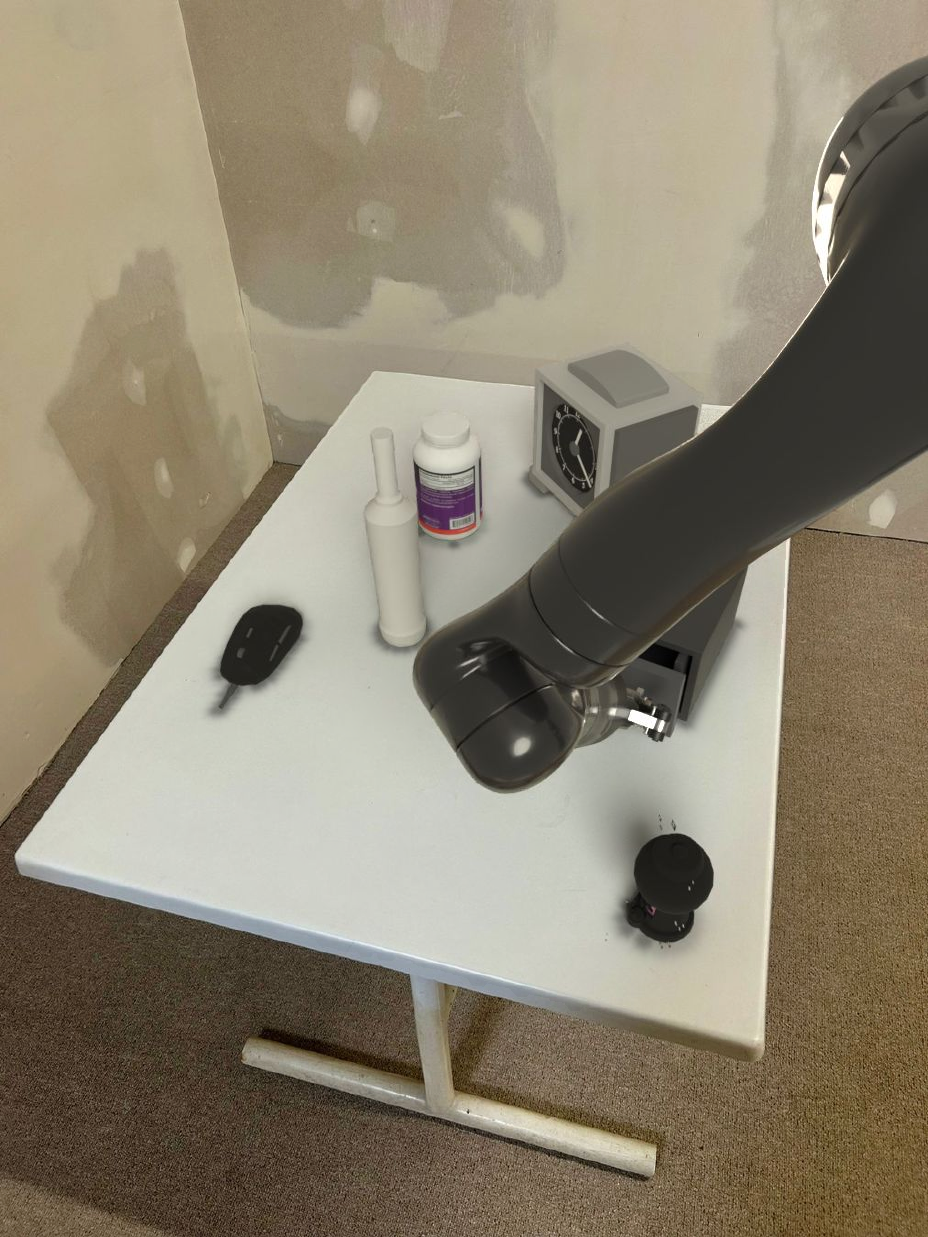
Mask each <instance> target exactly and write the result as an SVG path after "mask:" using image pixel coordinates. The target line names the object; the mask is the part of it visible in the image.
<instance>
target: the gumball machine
mask: <svg viewBox="0 0 928 1237" xmlns="http://www.w3.org/2000/svg"><path fill="white" fill-rule="evenodd" d="M658 819H659V821H660V822H662V816H661V815H660V813H659V815H658ZM670 823H671V824H670V825H671V826H672V829H673V831H674V832H673V833H665V834H660V835H658V836H655V837H653V838H651V839H649V840H648V841H647V842H646V843H645V844H644V845H642V846H641V848H640V849H639V851H638V853H637V855H636V856H635V859H634V867H633V877H634V881H635V882H634V883H635V885H636V889H637V890H638V891H637V893H636V894H635V897H634V899H633V900H632V904H631V907H630V908H629V909H628V911H627V918H626V921H627V923H628V925H629V926H630V927H632V928H634V929H639V931H640V932H641V933H642V934H643V935H645V937H647V938H649V939H651V940H653V941H655V942H658V943H659V946H660V949H663V948H664V946H663V944H662V943H664V944H667V945H668V948H669V949H671V946H672V945H671V943H676V942H678V941H681V940H684V939H685V938H686V937H687V936H688V935H689V934H690V933H691V932H692V929H693V927H694V925H695V911H696V910H697V909H699V908H700V907H701V906H703V904H704V903H705V902H706V901H708V898H709V896H710V894H711V893H712V890H713V888H714V878H715V872H714V871H715V870H714V868H713V863H712V861H711V858H710V857H709V855H708V853H707V852H706V850H705V849H704V848H703V847H702V846H701V845H700V844H699V843H697V842H696V840H695V839H693V838H692V837H690V836H688V835H686V834H684V833H679V832H676V829H677V826H676V823H675V821H674V819H673V818H672V819H671V822H670ZM659 828H660V830H661V831H663V827H662V825H661V824H660V825H659ZM625 902H626V905H627V906H628V905H629V902H628V898H626V899H625Z"/></svg>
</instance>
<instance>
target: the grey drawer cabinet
mask: <svg viewBox="0 0 928 1237" xmlns="http://www.w3.org/2000/svg"><path fill="white" fill-rule="evenodd" d="M749 566H750V565H748V566H747V567H745V568H744V569H743V570H741V571H740V572H738V573H737V574H736V575H734V576H733V577H732V578H730V579H729V580H728V581H727V582H725V583H724V584H723V585H721V586H720V587H719V588H718V589H716V590H715V591H714V592H713V593H711V594H710V595H709V596H708V597H707V598H705V599H704V600H703V601H702V602H701V603H699V604H698V605H697V606H696V607H695V608H693V609H692V610H691V611H690V612H689V613H688V614H687V615H685V616H684V617H683V618H682V619H681V620H680V621H679V622H677V623H676V624H675V625H674V626H673V627H672V628H671V629H670V630H668V631H667V632H666V633H665V634H664V635H662V636H661V637H660V638H659V639H658V640H657V641H656V642H654V643H655V644H658V645H661V646H664V647H667V648H669V649H672V650H675V651H678V652H681V653H684V654H687V655H690V656H693V657H692V662H691V666H690V671H689V676H688V680H687V685H686V689H685V691H684V693H683V695H682V697H681V701H680V705H679V710H678V714H677V719H678V720H681V721H683V722H687V721H688V720H689V717H690V716H691V714H692V711H693V709H694V707H695V706H696V703H697V701H698V699H699V697H700V695H701V693H702V690H703V688H704V687H705V685H706V682H707V680H708V678H709V676H710V674H711V672H712V670H713V667H714V665H715V663H716V661H717V659H718V657H719V655H720V653H721V651H722V649H723V647H724V645H725V643H726V641H727V638H728V636H729V634H730V632H731V630H732V629H733V628H732V627H733V626H734V623H735V620H736V616H737V612H738V608H739V604H740V601H741V596H742V594H743V593H742V592H743V590H744V585H745V581H746V577H747V573H748V569H749Z"/></svg>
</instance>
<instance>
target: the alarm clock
mask: <svg viewBox="0 0 928 1237" xmlns="http://www.w3.org/2000/svg"><path fill="white" fill-rule="evenodd" d="M533 394H534V397H533V399H534V400H533V431H532V432H533V434H532V435H533V437H532V464H531V465H530V466H529V473H528V474H529V476H528V481H529V482H530V483H531V484H532V485H533V486H534V487H535V488H536V489H537V490H539V492H540V493H542V494H547V493H549V492H551V493H552V494H553V495H554V496H555V497H556V498H557V499H558V500H559V501H560V502H561V503H562V504H563V505H564V506H565V507H566V508H567V509H568V510H569V511H570V512H572V514H573V515H575V516H576V517H577V515H578V514H579V513H580V512H581V511H582V510H583V509H584V508H585V507H586V506H587V505H588V504H589V503H590V502H592V501H593V500H594V499H595V498H596V497H597V496H598V495H599V494H601V493H602V492H603V491H604V490H606V489H607V488H608V487H609V486H611V485H612V484H614V483H615V482H616V481H618V480H619V479H621V478H622V477H624V476H625V475H627V474H629V473H630V472H632V471H634V470H635V469H637V468H639V467H641V466H643V465H644V464H646V463H648V462H650V461H652V460H654V459H655V458H657V457H659V456H661V455H663V454H665V453H667V452H669V451H671V450H672V449H674V448H676V447H678V446H679V445H681V444H683V443H684V442H686V441H687V440H689V439H691V438H692V437H694V436H695V435H697V434H698V430H699V425H700V424H699V423H700V420H701V419H700V418H701V413H702V408H703V402H704V396H705V394H704V393H702V392H701V391H700V390H698V389H697V388H695V387H694V386H692V385H691V384H690V383H688V382H687V381H685V380H684V379H682V378H680V377H679V376H678V375H676V374H675V373H673V372H672V371H671V370H669V369H668V368H666V367H665V366H663V365H661V363H659V362H657V361H656V360H655V359H653V358H651V357H650V356H648V354H645V352H643V351H641V350H640V349H638V348H637V347H635V346H634V345H633V344H631V343H630V342H628V341H626V342H621V343H618V344H614V345H612V346H608V347H605V348H601V349H597V350H594V351H590V352H587V353H583V354H580V355H576V356H573V357H569V358H566V359H562V360H558V361H555V362H551V363H549V364H545V365H542V366H538V367H535V368H534V393H533Z"/></svg>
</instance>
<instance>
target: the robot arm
mask: <svg viewBox="0 0 928 1237" xmlns="http://www.w3.org/2000/svg"><path fill="white" fill-rule="evenodd" d="M815 177H816V178H815V181H814V182H815V183H814V188H813V195H812V206H811V216H812V220H811V222H812V241H813V243H814V247H815V253H816V257H817V262H818V265H819V267H820V269H821V272H822V273H821V274H822V276H823V279H824V282H825V285H826V287H825V289H824V291H823V292H822V294H821V295H820V297H819V298H818V299H817V301H816V302H815V304H814V305H813V307H812V308H811V309H810V310H809V312H808V314H807V316H805V318H804V319H803V321H802V322H801V323H800V325H799V326H798V328H797V329H796V330H795V332H794V334H792V336H791V338H789V340H788V341H787V342H786V343H785V345H784V346H783V348H782V349H781V350H780V352H779V353H778V355H777V356H776V357H775V358H774V359H773V361H772V362H771V363H770V364H769V366H768V367H767V368H766V369H765V371H764V372H763V373H762V374H761V375H760V376H759V377H758V379H756V381H755V382H754V383H753V384H752V385H751V386H750V387H749V388H748V389H747V391H746V392H745V393H743V395H741V396H740V398H738V399H737V400H736V401H735V402H734V403H733V404H732V405H731V406H729V408H728V409H727V410H725V411H724V412H723V413H722V414H721V415H720V416H719V417H718V418H717V419H715V420H714V421H712V422H711V423H710V424H709V425H707V426H706V427H705V428H703V429H702V430H701V431H699V432H697V435H695V436H694V437H692V438H691V439H689V440H687V441H686V442H684V443H683V444H681V445H679V446H678V447H676V448H674V449H672V450H671V451H669V452H667V453H665V454H663V455H661V456H659V457H657V458H655V459H654V460H652V461H650V462H648V463H646V464H644V465H643V466H641V467H639V468H637V469H635V470H634V471H632V472H630V473H629V474H627V475H625V476H624V477H622V478H621V479H619V480H618V481H616V482H615V483H614V484H612V485H611V486H609V487H608V488H607V489H606V490H604V491H603V492H602V493H601V494H599V495H598V496H597V497H596V498H595V499H594V500H593V501H592V502H590V503H589V504H588V505H587V506H586V507H585V508H584V509H583V510H582V511H581V512H580V513H579V514H578V515H577V516H576V517H575V518H573V520H572V521H571V522H570V523H569V524H568V525H567V526H566V528H564V530H563V531H562V532H561V533H560V534H559V535H558V537H556V539H555V540H554V541H553V542H552V543H551V544H550V545H549V547H548V548H547V549H546V550H545V551H544V552H543V554H541V556H540V557H539V558H538V559H537V560H536V561H535V563H534V564H533V565H532V566H531V567H530V568H529V569H528V570H527V571H526V573H524V574H523V575H522V576H521V577H520V578H519V579H518V580H516V581H515V582H514V583H513V584H511V585H510V586H509V587H507V588H506V589H505V590H503V591H502V592H500V593H499V594H498V595H496V596H494V597H493V598H492V599H490V600H489V601H487V602H485V603H484V604H482V605H481V606H479V607H477V608H475V609H473V610H472V611H469V612H467V613H466V614H463V615H461V616H460V617H458V618H455V619H453V620H451V621H450V622H448V623H446V624H444V625H443V626H441V627H439V628H438V629H437V630H435V631H434V632H432V633H431V634H430V635H428V636H427V637H426V638H425V639H424V641H423V642H422V643H421V645H420V646H419V648H418V649H417V652H416V654H415V657H414V660H413V665H412V674H411V675H412V682H413V683H412V684H413V688H414V690H415V693H416V694H417V696H418V698H419V700H420V702H421V703H422V705H423V706H424V707H425V709H426V711H427V712H428V714H429V715H430V717H431V718H432V720H433V722H434V723H435V724H436V727H438V729H439V731H440V732H441V734H442V735H443V737H444V738H445V740H446V741H447V742H448V744H449V746H450V747H451V749H452V751H453V752H454V754H455V756H456V757H457V759H458V760H459V762H460V764H461V765H462V766H463V768H464V769H465V771H466V772H467V774H468V775H469V776H470V777H471V778H472V779H473V781H474V782H476V783H477V784H478V785H479V786H481V787H483V788H485V789H487V790H488V791H491V792H492V793H497V794H502V795H508V794H516V793H521V792H524V791H527V790H529V789H531V788H533V787H535V786H537V785H539V784H541V783H542V782H544V781H545V780H547V779H548V778H549V777H551V775H553V774H554V773H555V772H557V771H558V769H559V768H560V767H562V765H563V764H565V762H566V761H567V759H568V758H569V757H570V756H571V754H573V751H574V750H576V749H580V748H584V747H588V746H591V745H592V746H593V745H596V744H598V743H600V742H603V741H604V740H606V739H608V738H609V737H610V736H612V735H613V734H614V733H615V732H616V731H617V730H618V729H620V730H625V731H627V730H629V729H630V727H632V726H634V727H636V728H639V727H640V728H643V725H644V726H645V728H643V731H642V734H643V735H646V736H647V737H648V738H650V739H651V741H653V742H656V743H658V742H661V743H663V742H664V739H665V737H666V736H665V733H666V731H667V728H668V725H669V722H670V720H671V717H672V714H673V713H672V711H671V709H670V708H668V707H667V705H665V704H662V703H661V705H660V704H657V705H656V706H655V705H653V704H651V702H652V701H651V699H650V698H647V697H645V696H641V694H640V692H637V691H635V690H633V689H630V688H627V687H626V686H625V683H624V680H623V678H622V676H621V674H620V672H621V671H622V670H623V669H625V668H626V667H627V666H628V665H629V664H630V663H632V662H633V661H634V660H635V659H636V658H637V657H638V656H639V655H641V654H642V653H643V652H644V651H645V650H646V649H647V648H649V647H650V646H651V645H652V644H653V643H654V642H656V641H657V640H658V639H659V638H660V637H661V636H662V635H664V634H665V633H666V632H667V631H668V630H670V629H671V628H672V627H673V626H674V625H675V624H676V623H677V622H679V621H680V620H681V619H682V618H683V617H684V616H685V615H687V614H688V613H689V612H690V611H691V610H692V609H693V608H695V607H696V606H697V605H698V604H699V603H701V602H702V601H703V600H704V599H705V598H707V597H708V596H709V595H710V594H711V593H713V592H714V591H715V590H716V589H718V588H719V587H720V586H721V585H723V584H724V583H725V582H727V581H728V580H729V579H730V578H732V577H733V576H734V575H736V574H737V573H738V572H740V571H741V570H743V569H744V568H745V567H747V566H748V565H749V566H750V565H751V564H753V563H754V562H755V561H757V560H758V559H759V558H761V557H762V556H764V555H765V554H767V553H769V552H770V551H772V550H774V549H775V548H777V547H778V546H779V545H781V544H783V543H785V542H786V541H787V540H789V539H791V538H792V537H794V536H795V535H797V534H799V533H800V532H802V531H803V530H805V529H806V528H808V527H810V526H811V525H812V524H815V523H816V522H818V521H819V520H821V519H823V518H824V517H826V516H827V515H829V514H831V513H832V512H834V511H835V510H837V509H839V508H841V507H843V506H844V505H845V504H847V503H849V502H850V501H851V500H853V499H855V498H857V497H858V496H859V495H861V494H863V493H864V492H866V491H868V490H869V489H871V488H873V487H874V486H876V485H877V484H879V483H880V482H881V481H883V480H885V479H886V478H888V477H889V476H891V475H893V474H894V473H896V472H898V471H900V470H901V469H902V468H904V467H905V466H907V465H909V464H910V463H912V462H913V461H915V460H917V459H919V458H920V457H922V456H924V455H925V454H927V453H928V54H927V55H925V56H922V57H918V58H916V59H914V60H912V61H910V62H907V63H905V64H903V65H900V66H899V67H897V68H896V69H894V70H892V71H890V72H889V73H887V74H886V75H884V76H883V77H881V78H879V79H878V80H877V81H876V82H874V83H873V84H872V85H871V86H870V87H869V88H867V89H866V90H865V91H864V92H863V93H862V94H861V95H859V97H858V98H857V99H856V100H855V101H854V102H853V103H852V104H851V105H850V107H849V108H847V110H846V111H845V113H844V114H843V115H842V117H841V119H840V120H839V121H838V123H837V124H836V126H835V127H834V130H833V131H832V133H831V135H830V137H829V139H828V141H827V143H826V146H825V148H824V150H823V153H822V156H821V159H820V162H819V165H818V170H817V173H816V176H815ZM749 566H748V567H749Z"/></svg>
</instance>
